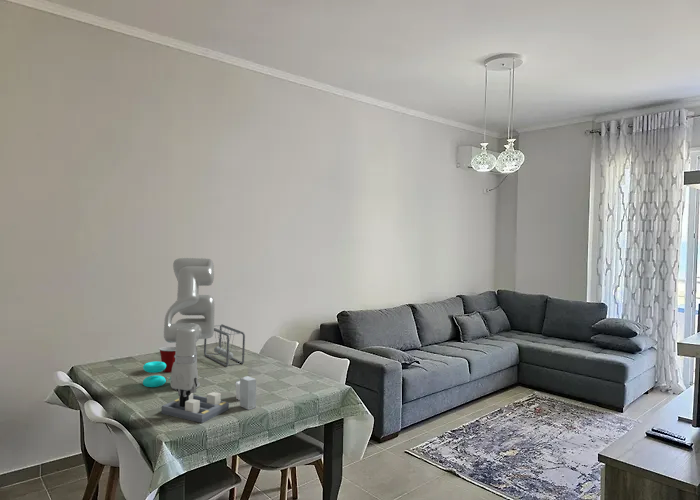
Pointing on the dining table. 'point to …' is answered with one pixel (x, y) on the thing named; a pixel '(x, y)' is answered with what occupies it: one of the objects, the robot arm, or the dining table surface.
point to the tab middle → (189, 397)
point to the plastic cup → (168, 357)
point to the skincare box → (248, 392)
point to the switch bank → (205, 412)
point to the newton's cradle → (222, 351)
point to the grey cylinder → (238, 390)
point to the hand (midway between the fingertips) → (184, 405)
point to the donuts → (156, 379)
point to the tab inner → (214, 398)
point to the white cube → (192, 405)
